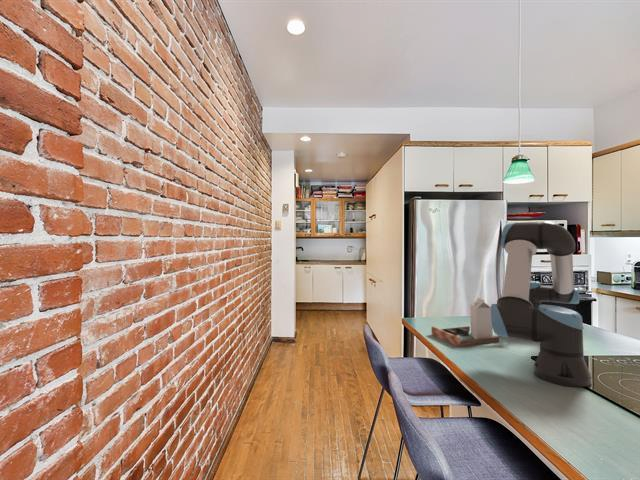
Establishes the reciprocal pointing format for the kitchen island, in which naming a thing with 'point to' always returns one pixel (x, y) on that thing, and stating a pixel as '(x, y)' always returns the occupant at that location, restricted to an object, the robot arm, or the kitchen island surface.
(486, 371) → the kitchen island surface
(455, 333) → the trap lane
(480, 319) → the milk carton
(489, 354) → the kitchen island surface
